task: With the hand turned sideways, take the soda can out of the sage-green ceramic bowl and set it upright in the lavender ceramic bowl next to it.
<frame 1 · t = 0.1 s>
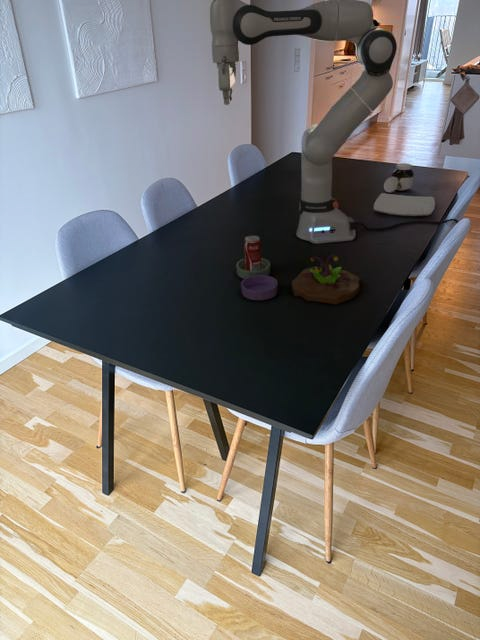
hand: (228, 102, 162), 48 cm above the table, tool pointing down, fingers open, 8 cm apart
plant: (326, 288, 147), on the table
lavender bowl: (259, 292, 147), on the table
spread jar: (397, 191, 225), on the table
green bowl: (253, 272, 158), on the table
plate: (403, 209, 204), on the table
soda can: (253, 272, 158), resting on green bowl
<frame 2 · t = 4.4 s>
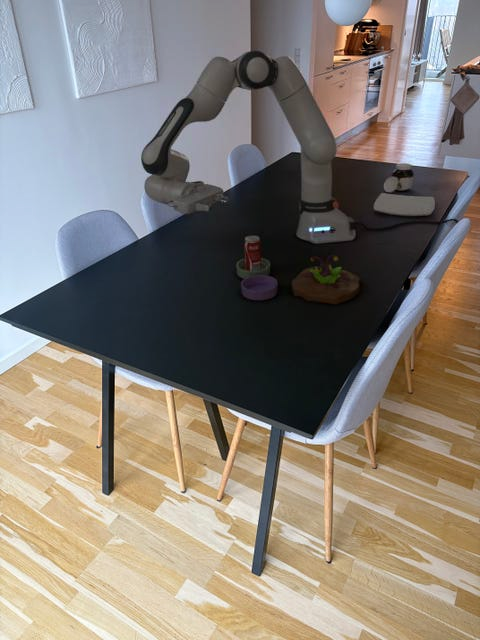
hand: (218, 204, 154), 21 cm above the table, tool horizontal, fingers open, 8 cm apart
nothing on the table moved.
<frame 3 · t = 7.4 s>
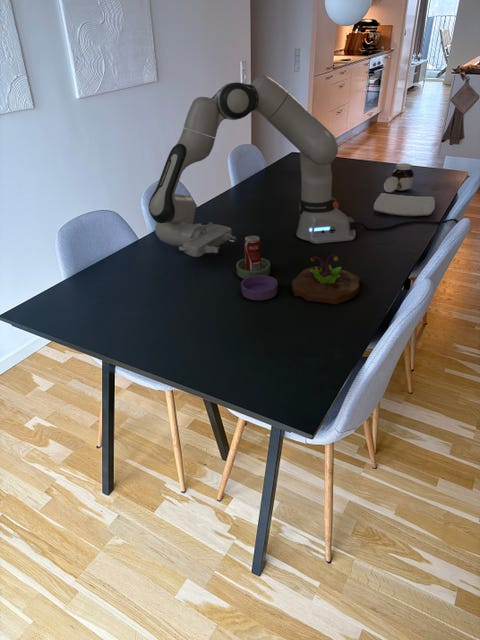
hand: (227, 245, 159), 8 cm above the table, tool horizontal, fingers open, 8 cm apart
nothing on the table moved.
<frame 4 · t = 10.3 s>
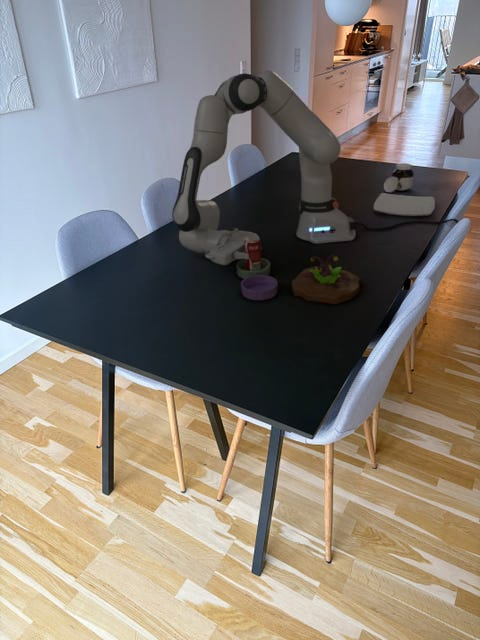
hand: (255, 252, 154), 8 cm above the table, tool horizontal, fingers closed on soda can, 5 cm apart
soda can: (253, 272, 158), resting on green bowl, touching gripper
everything else where it was.
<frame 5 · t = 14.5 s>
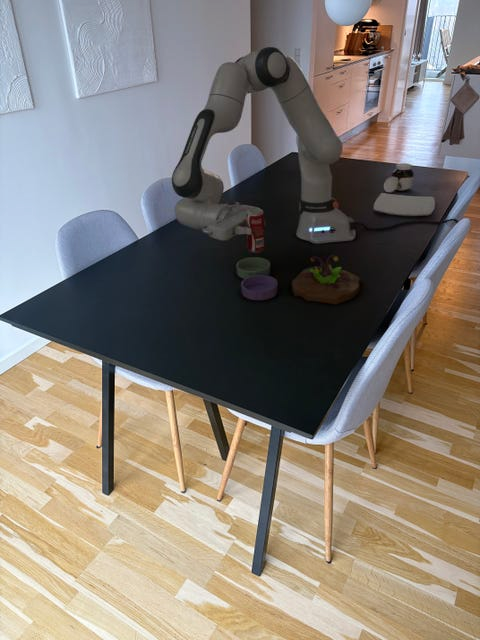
hand: (258, 227, 138), 20 cm above the table, tool horizontal, fingers closed on soda can, 5 cm apart
soda can: (256, 250, 143), point 13 cm above the table, touching gripper
everything else where it was.
when the fingers open (8 cm above the table, at t = 18.7 s): soda can stays where it is, resting on lavender bowl.
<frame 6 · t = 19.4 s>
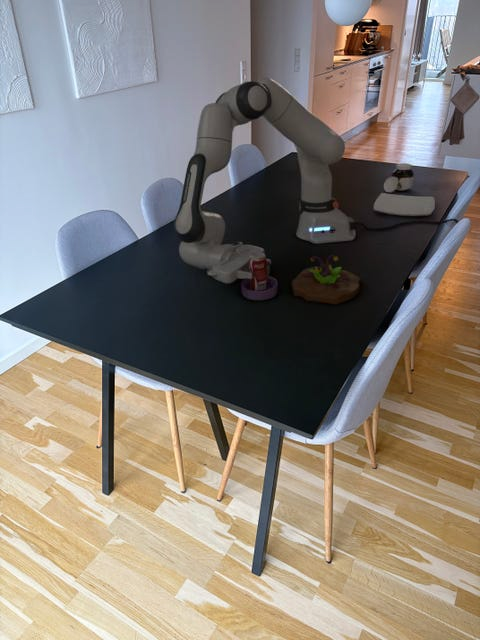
hand: (261, 269, 142), 8 cm above the table, tool horizontal, fingers open, 8 cm apart
soda can: (258, 292, 146), resting on lavender bowl
everything else where it was.
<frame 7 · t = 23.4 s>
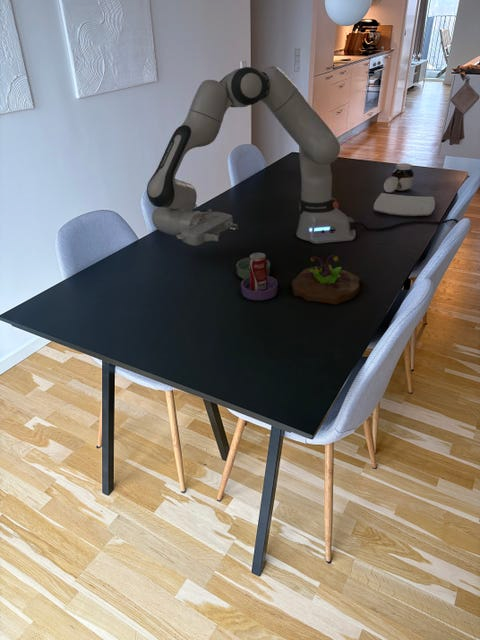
hand: (227, 232, 150), 15 cm above the table, tool horizontal, fingers open, 8 cm apart
nothing on the table moved.
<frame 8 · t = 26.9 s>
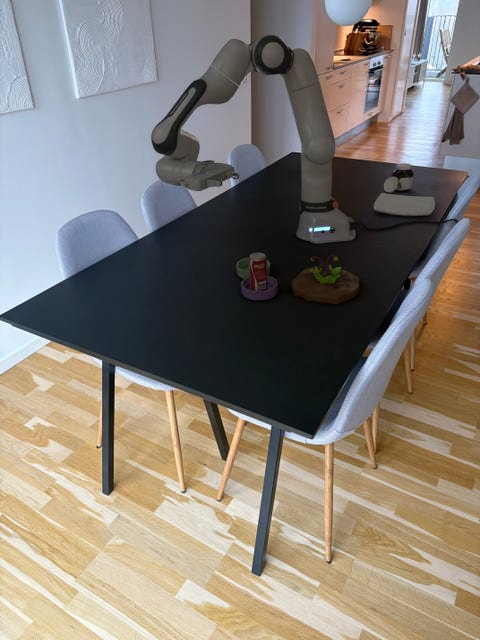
hand: (229, 180, 153), 28 cm above the table, tool horizontal, fingers open, 8 cm apart
nothing on the table moved.
at the end: soda can 0.2 cm off-centre in the lavender bowl, point 0.1 cm above the lavender bowl's base; soda can tilted 0°; the gripper is holding nothing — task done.
